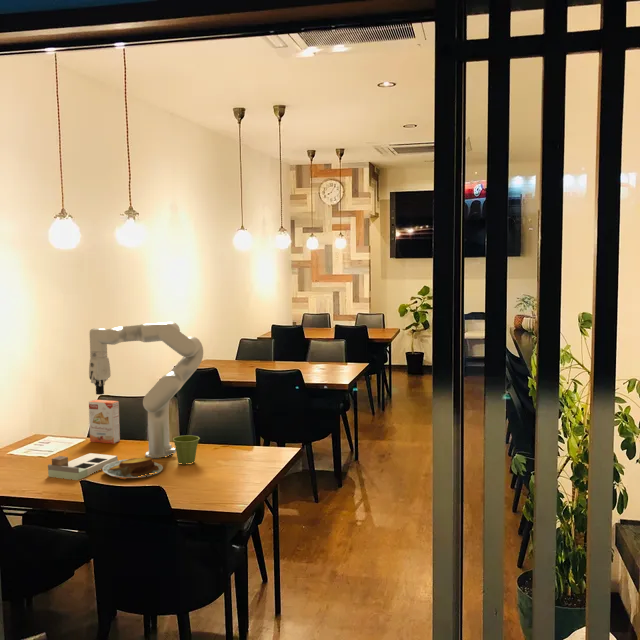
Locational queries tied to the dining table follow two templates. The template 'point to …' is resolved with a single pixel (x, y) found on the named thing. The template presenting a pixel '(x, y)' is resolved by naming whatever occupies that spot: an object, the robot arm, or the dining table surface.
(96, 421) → the cracker box
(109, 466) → the food on plate
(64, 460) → the walnut block
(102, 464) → the box
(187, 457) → the plant pot
